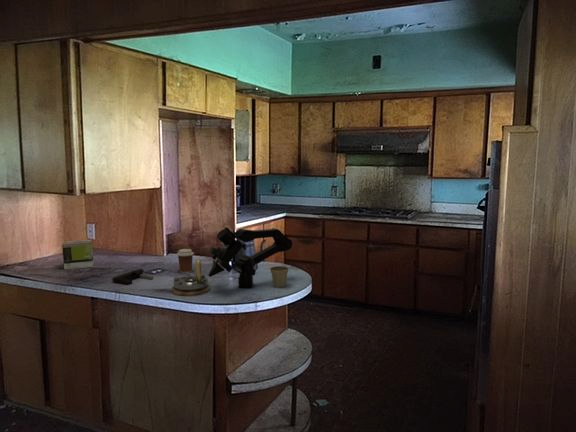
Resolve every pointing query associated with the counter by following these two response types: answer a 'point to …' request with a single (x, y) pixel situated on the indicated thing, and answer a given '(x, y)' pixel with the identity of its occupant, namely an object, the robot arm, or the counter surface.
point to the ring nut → (191, 281)
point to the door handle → (131, 277)
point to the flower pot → (279, 275)
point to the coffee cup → (185, 260)
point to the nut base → (182, 293)
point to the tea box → (77, 254)
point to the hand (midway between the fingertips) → (209, 276)
